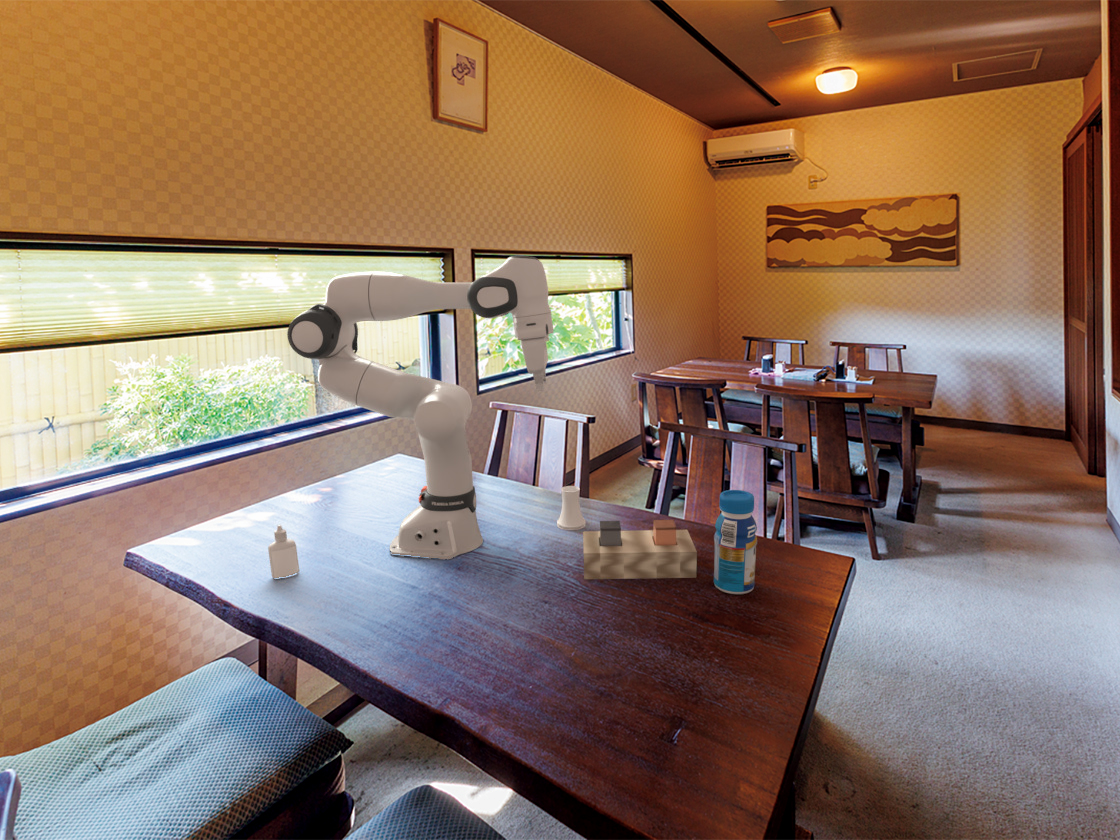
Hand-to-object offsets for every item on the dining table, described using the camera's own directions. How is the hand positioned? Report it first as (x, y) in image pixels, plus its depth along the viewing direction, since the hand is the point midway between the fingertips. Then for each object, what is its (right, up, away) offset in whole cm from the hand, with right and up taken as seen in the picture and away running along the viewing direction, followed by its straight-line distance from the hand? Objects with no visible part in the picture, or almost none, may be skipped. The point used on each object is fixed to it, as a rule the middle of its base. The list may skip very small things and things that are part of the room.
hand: (541, 386), depth 147 cm
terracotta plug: (+27, -36, -7) cm, 46 cm away
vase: (+7, -36, +19) cm, 41 cm away
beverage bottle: (+40, -42, -16) cm, 61 cm away
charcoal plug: (+15, -36, -7) cm, 40 cm away
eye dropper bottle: (-57, -43, -5) cm, 72 cm away
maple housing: (+22, -40, -6) cm, 46 cm away
